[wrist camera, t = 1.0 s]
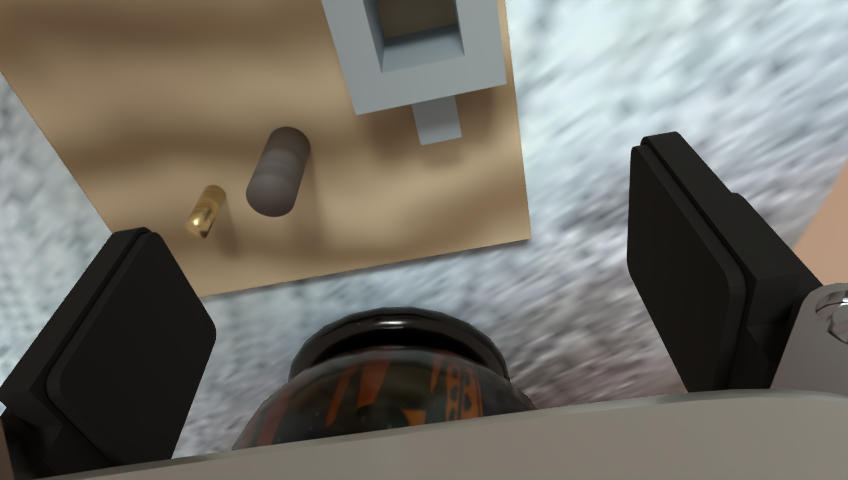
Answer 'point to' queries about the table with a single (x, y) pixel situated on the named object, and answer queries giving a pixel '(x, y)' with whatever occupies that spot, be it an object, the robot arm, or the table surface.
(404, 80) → the grey square hole block
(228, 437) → the table surface
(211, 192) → the cylinder
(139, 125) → the post base
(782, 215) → the table surface
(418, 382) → the black orange vase
